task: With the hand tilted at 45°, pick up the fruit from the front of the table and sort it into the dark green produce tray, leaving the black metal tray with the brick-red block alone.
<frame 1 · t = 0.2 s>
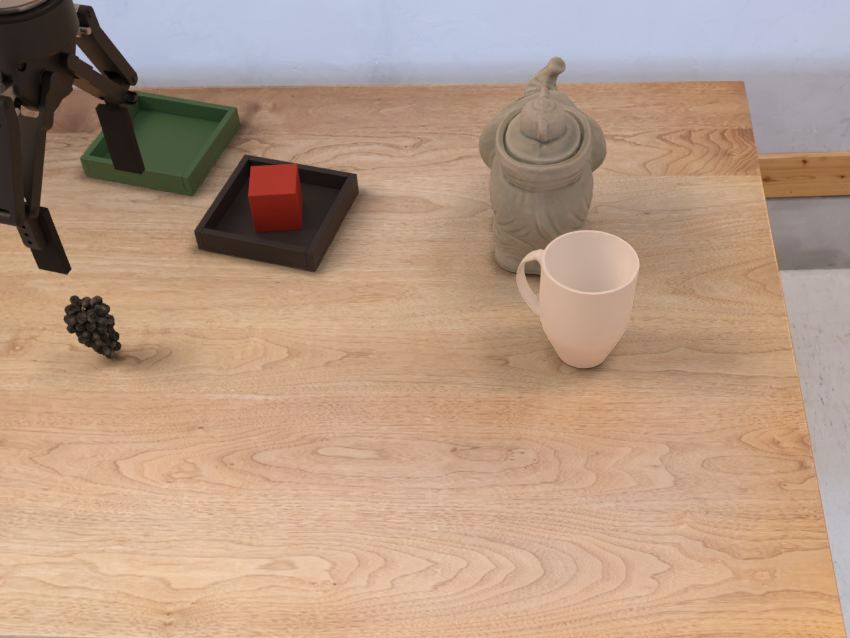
hand: (94, 217, 98), 18 cm above the table, tool pointing down, fingers open, 13 cm apart
black tray: (280, 220, 124), on the table
fruit: (106, 359, 112), on the table
red block: (279, 216, 123), point 1 cm above the table, touching black tray
mug: (568, 347, 111), on the table
green tray: (164, 150, 132), on the table
lidded stone jar: (539, 231, 122), on the table
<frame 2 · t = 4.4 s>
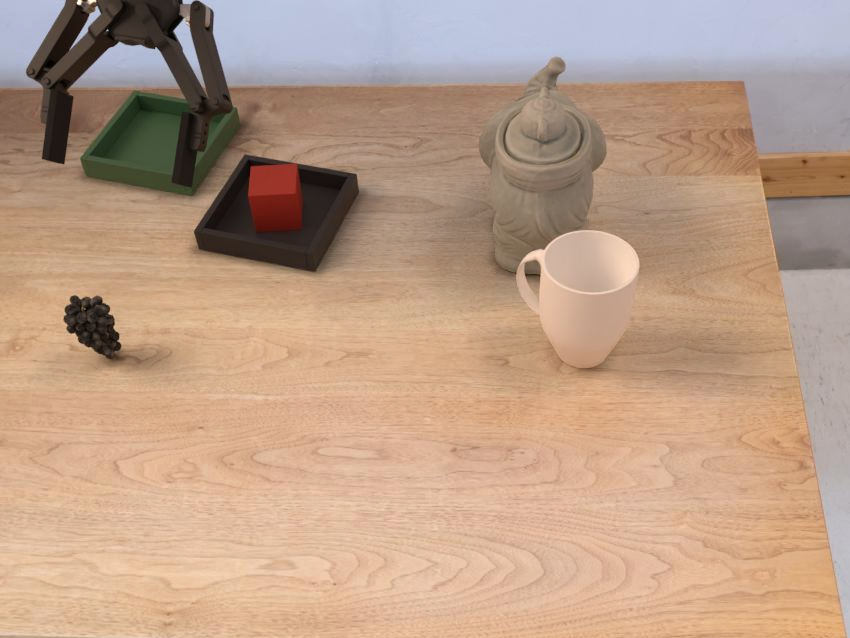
hand: (116, 173, 106), 15 cm above the table, tool tilted 45°, fingers open, 13 cm apart
nothing on the table moved.
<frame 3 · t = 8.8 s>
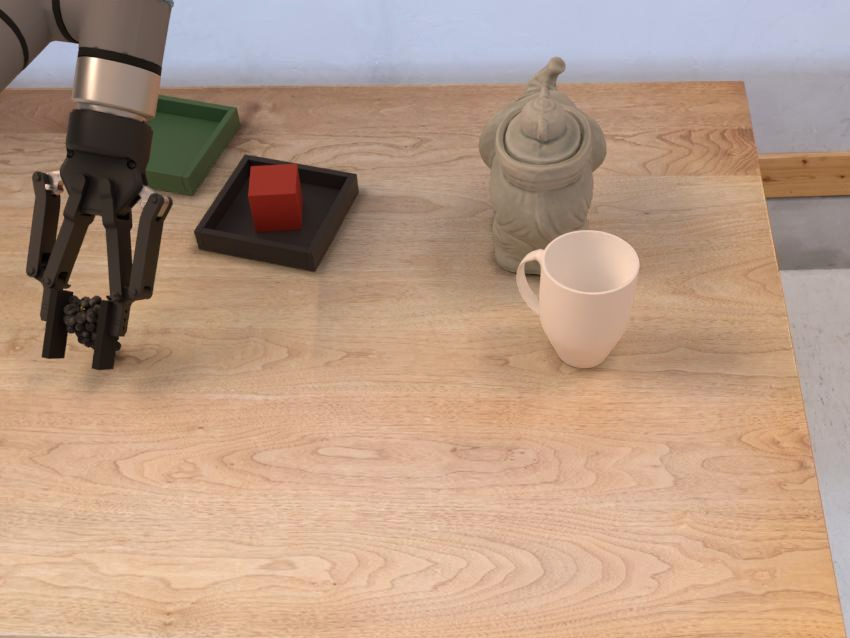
hand: (77, 362, 107), 3 cm above the table, tool tilted 45°, fingers closed on fruit, 5 cm apart
fruit: (106, 359, 112), on the table, touching gripper
everything else where it was.
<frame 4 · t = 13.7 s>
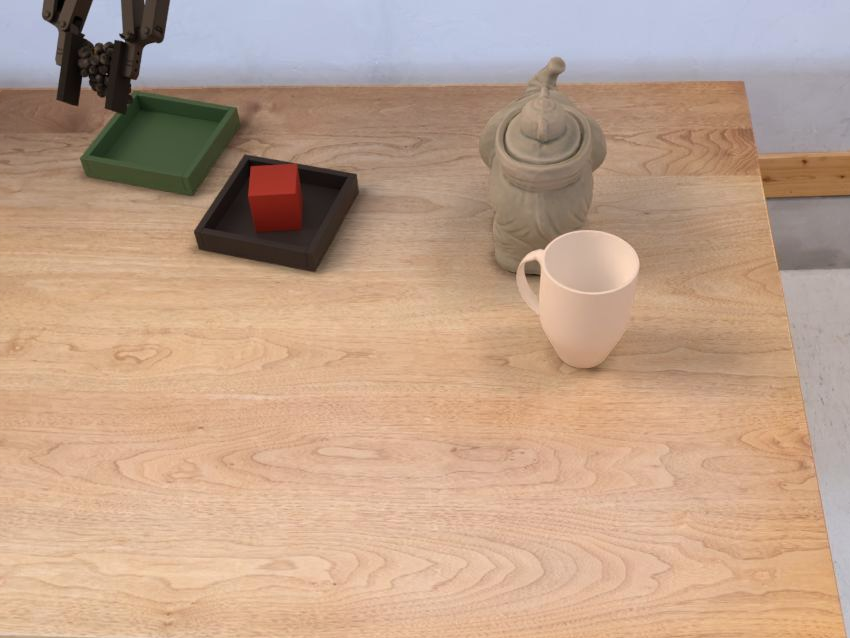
hand: (91, 106, 110), 16 cm above the table, tool tilted 45°, fingers closed on fruit, 5 cm apart
fruit: (118, 114, 115), point 13 cm above the table, touching gripper
everything else where it was.
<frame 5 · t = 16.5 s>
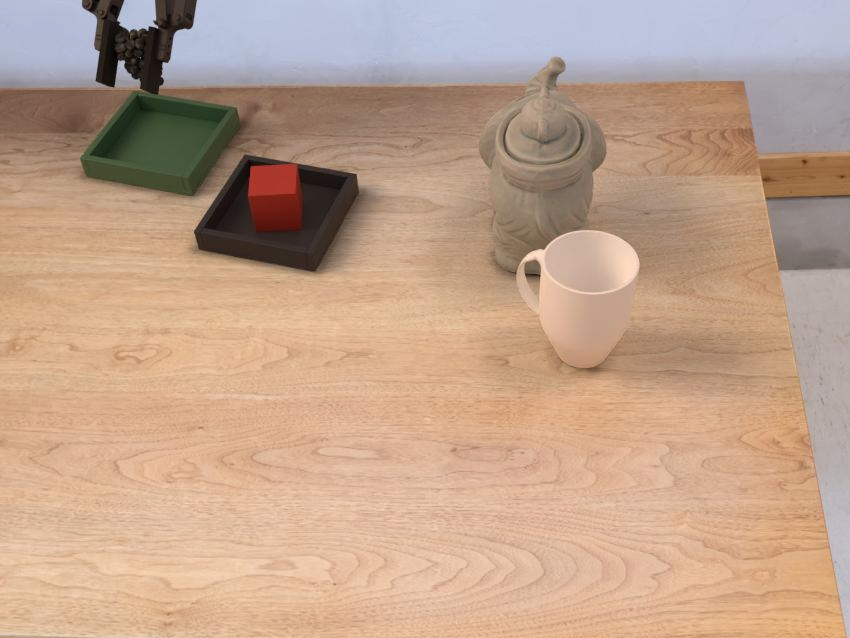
hand: (127, 87, 121), 11 cm above the table, tool tilted 45°, fingers closed on fruit, 5 cm apart
fruit: (150, 95, 126), point 7 cm above the table, touching gripper
everything else where it was.
when the fingers open (4 cm above the table, at t = 18.7 s): fruit stays where it is, resting on green tray.
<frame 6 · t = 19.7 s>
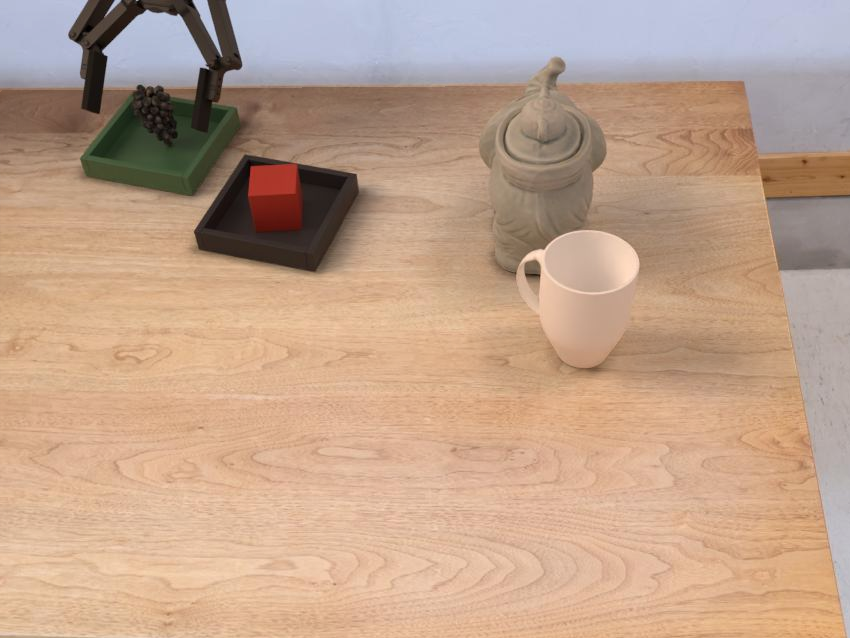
hand: (144, 121, 126), 6 cm above the table, tool tilted 45°, fingers open, 13 cm apart
fruit: (164, 147, 132), resting on green tray
everything else where it was.
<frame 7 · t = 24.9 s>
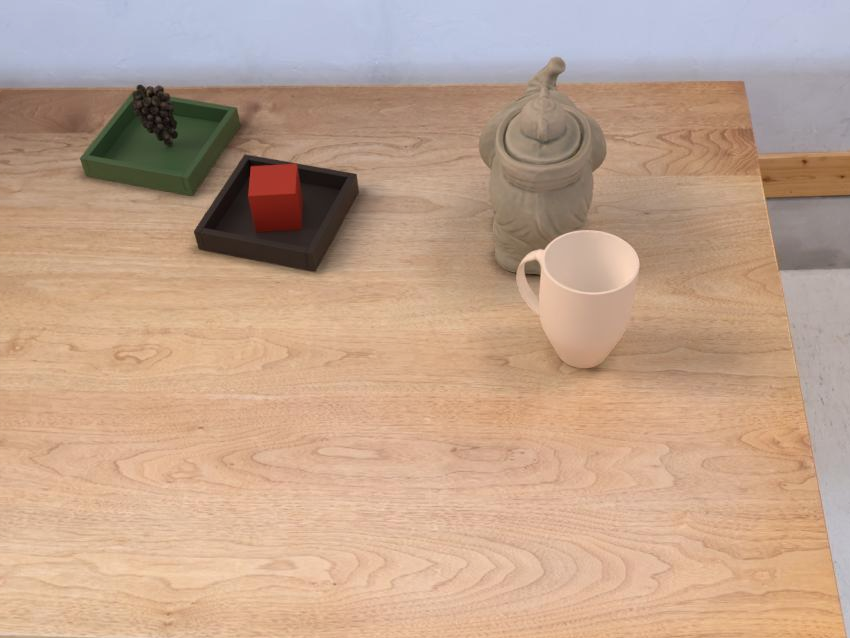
nothing on the table moved.
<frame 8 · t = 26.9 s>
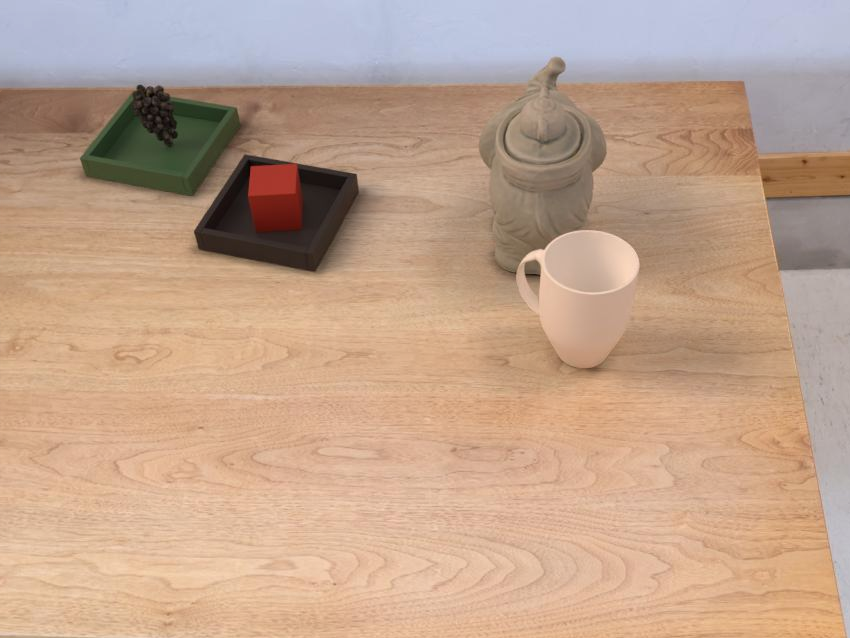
nothing on the table moved.
at the end: fruit inside the target area in the green tray (0.0 cm from its centre), point 0.4 cm above the green tray's base; the gripper is holding nothing; red block moved 0.0 cm from its start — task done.
